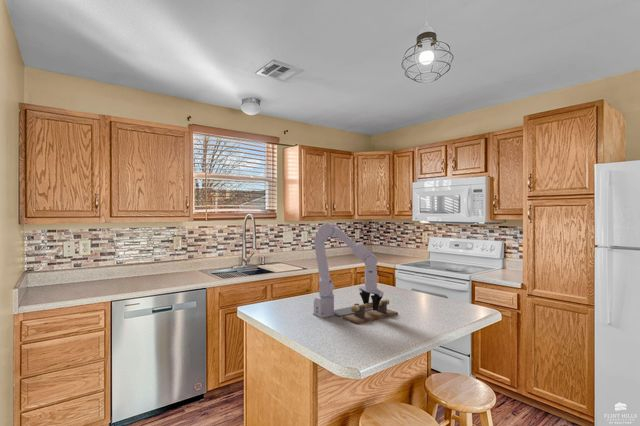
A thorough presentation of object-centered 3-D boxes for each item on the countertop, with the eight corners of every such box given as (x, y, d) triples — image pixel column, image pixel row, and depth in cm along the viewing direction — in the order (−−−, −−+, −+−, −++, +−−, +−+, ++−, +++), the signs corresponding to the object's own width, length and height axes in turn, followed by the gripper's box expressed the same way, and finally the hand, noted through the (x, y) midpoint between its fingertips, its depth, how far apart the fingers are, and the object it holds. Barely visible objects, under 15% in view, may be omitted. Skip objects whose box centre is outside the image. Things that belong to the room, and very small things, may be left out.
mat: (339, 317, 159) (339, 315, 159) (328, 312, 167) (328, 311, 167) (379, 308, 174) (379, 307, 174) (367, 304, 182) (367, 303, 182)
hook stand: (356, 324, 149) (356, 309, 149) (342, 318, 157) (342, 304, 157) (397, 314, 164) (397, 301, 164) (383, 309, 172) (383, 296, 172)
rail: (354, 312, 153) (354, 306, 153) (351, 311, 155) (351, 305, 155) (389, 305, 166) (389, 299, 166) (385, 303, 168) (385, 298, 168)
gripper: (388, 281, 157) (388, 310, 157) (366, 276, 169) (366, 303, 169) (376, 283, 153) (376, 313, 153) (355, 278, 165) (355, 306, 165)
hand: (370, 308), depth 161 cm, fingers open, 6 cm apart
